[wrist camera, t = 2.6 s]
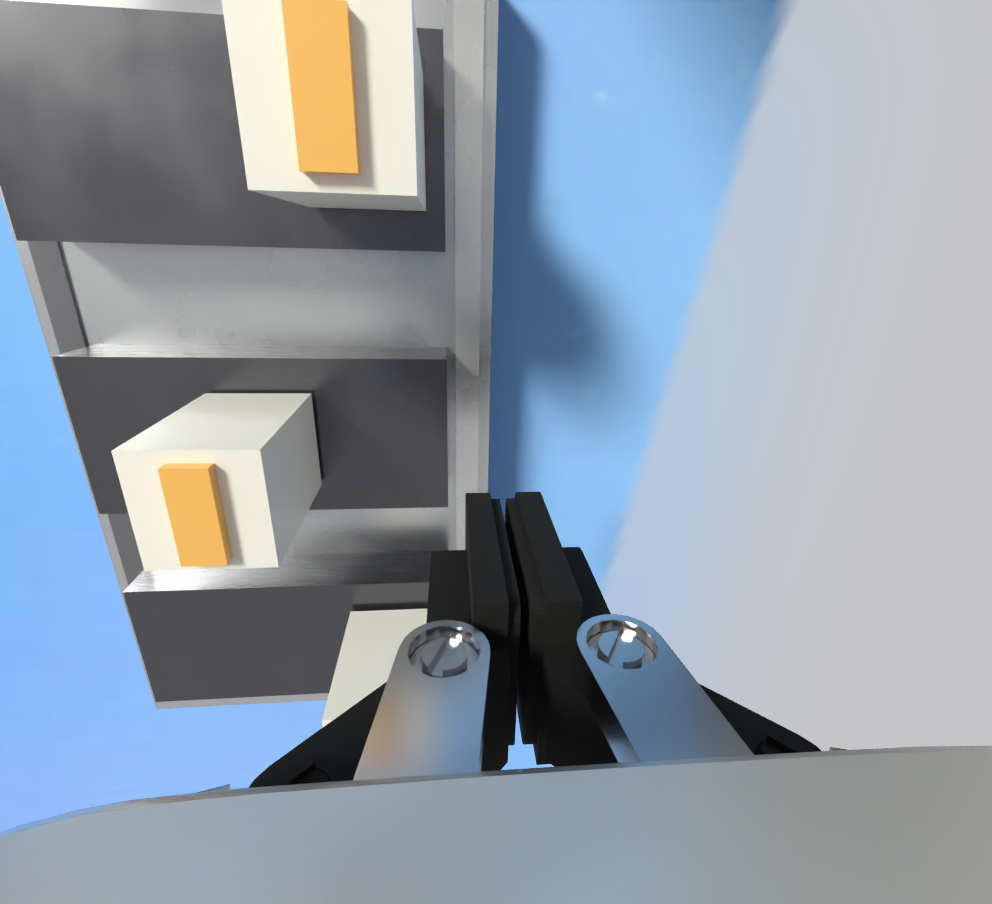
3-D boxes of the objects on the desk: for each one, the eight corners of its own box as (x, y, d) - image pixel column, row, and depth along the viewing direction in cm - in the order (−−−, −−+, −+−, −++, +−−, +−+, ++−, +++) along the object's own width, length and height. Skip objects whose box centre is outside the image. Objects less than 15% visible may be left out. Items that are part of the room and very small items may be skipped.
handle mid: (205, 393, 15) (102, 456, 10) (311, 393, 15) (255, 454, 11) (223, 486, 16) (136, 579, 12) (321, 484, 16) (274, 574, 12)
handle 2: (350, 611, 18) (319, 729, 14) (435, 608, 18) (431, 723, 14) (356, 675, 19) (329, 804, 15) (436, 671, 20) (433, 797, 15)
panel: (-19, -58, 14) (-187, -168, 10) (493, -19, 15) (508, -104, 11) (178, 672, 24) (129, 751, 20) (480, 658, 25) (486, 730, 21)
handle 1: (296, 67, 12) (209, -35, 8) (423, 75, 12) (410, -19, 8) (310, 206, 13) (241, 188, 9) (426, 211, 14) (416, 194, 9)
